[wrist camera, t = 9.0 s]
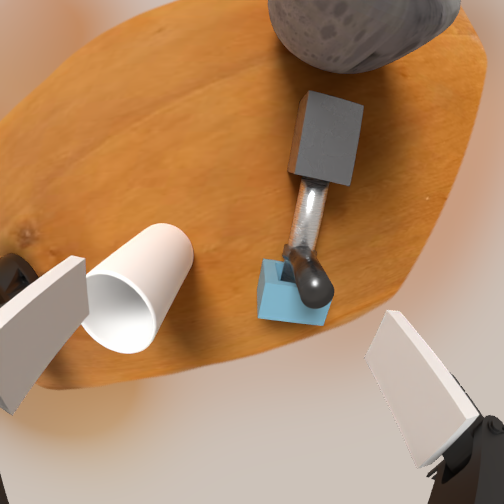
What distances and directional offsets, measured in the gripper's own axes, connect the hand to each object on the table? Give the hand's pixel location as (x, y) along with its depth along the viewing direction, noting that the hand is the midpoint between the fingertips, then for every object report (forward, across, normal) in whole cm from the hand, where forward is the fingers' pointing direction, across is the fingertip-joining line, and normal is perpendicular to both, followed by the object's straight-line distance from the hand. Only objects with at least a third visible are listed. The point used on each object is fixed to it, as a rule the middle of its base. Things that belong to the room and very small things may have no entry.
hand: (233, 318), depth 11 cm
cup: (+25, -9, -8) cm, 28 cm away
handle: (+23, +8, 0) cm, 25 cm away
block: (+24, +7, +10) cm, 27 cm away
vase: (+24, +6, +26) cm, 36 cm away
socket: (+24, +8, -8) cm, 27 cm away
